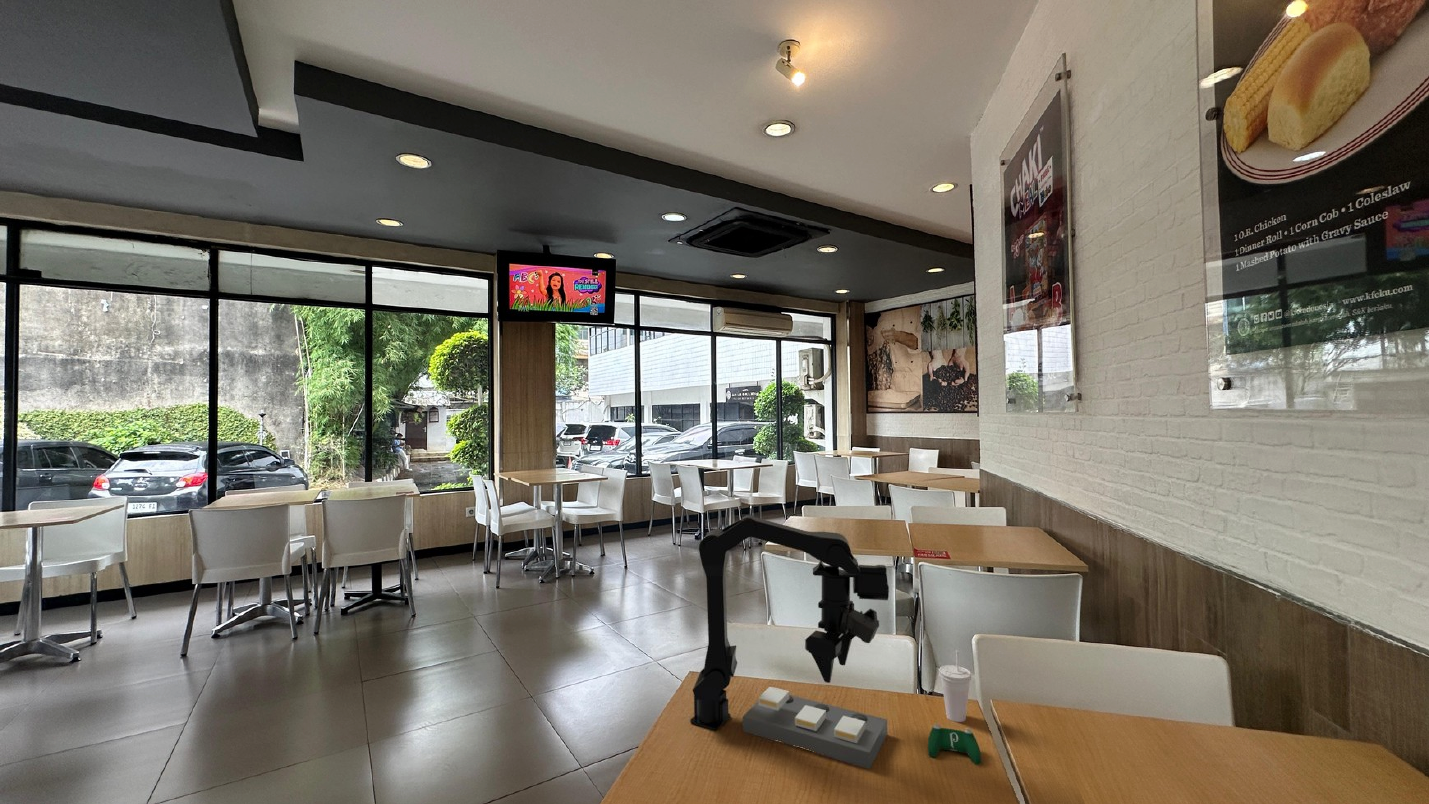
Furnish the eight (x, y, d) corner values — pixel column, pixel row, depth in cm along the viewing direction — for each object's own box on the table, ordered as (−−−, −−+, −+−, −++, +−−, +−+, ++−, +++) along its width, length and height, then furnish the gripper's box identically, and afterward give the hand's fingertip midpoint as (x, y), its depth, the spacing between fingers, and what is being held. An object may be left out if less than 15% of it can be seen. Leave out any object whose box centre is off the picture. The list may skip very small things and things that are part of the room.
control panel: (742, 731, 119) (742, 715, 119) (769, 703, 130) (769, 688, 130) (869, 769, 106) (869, 751, 106) (887, 734, 117) (887, 718, 117)
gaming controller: (980, 769, 108) (977, 734, 112) (982, 763, 106) (978, 727, 110) (928, 761, 111) (926, 727, 115) (928, 754, 109) (927, 720, 113)
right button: (833, 737, 111) (833, 729, 111) (843, 723, 116) (843, 715, 116) (856, 743, 108) (856, 735, 108) (865, 728, 113) (865, 721, 113)
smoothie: (975, 726, 119) (974, 658, 119) (942, 723, 120) (941, 656, 121) (968, 710, 125) (967, 645, 126) (937, 708, 127) (936, 643, 127)
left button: (758, 705, 119) (758, 698, 119) (770, 693, 124) (769, 686, 124) (777, 710, 116) (777, 703, 117) (789, 698, 121) (789, 691, 121)
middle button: (794, 725, 115) (794, 717, 115) (805, 712, 120) (805, 705, 120) (816, 731, 112) (815, 723, 112) (826, 717, 117) (825, 710, 117)
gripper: (861, 618, 107) (860, 703, 107) (887, 591, 123) (886, 665, 123) (804, 607, 113) (803, 688, 113) (836, 583, 129) (835, 653, 129)
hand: (835, 673), depth 119 cm, fingers open, 9 cm apart
